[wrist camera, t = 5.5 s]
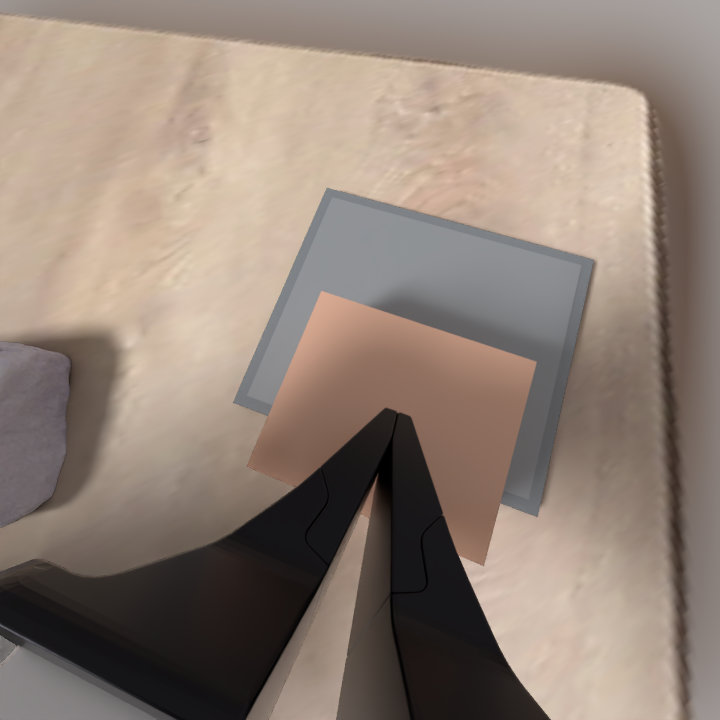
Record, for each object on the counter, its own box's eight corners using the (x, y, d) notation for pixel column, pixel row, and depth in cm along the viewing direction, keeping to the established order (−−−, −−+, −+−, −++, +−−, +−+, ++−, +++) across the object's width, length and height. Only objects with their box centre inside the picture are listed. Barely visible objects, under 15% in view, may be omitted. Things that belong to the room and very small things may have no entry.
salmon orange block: (483, 566, 10) (536, 361, 12) (246, 466, 11) (321, 290, 13) (453, 527, 14) (495, 378, 15) (279, 456, 15) (334, 322, 17)
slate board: (528, 512, 15) (538, 517, 14) (239, 403, 17) (232, 402, 16) (584, 267, 17) (594, 258, 17) (328, 197, 19) (326, 186, 18)
